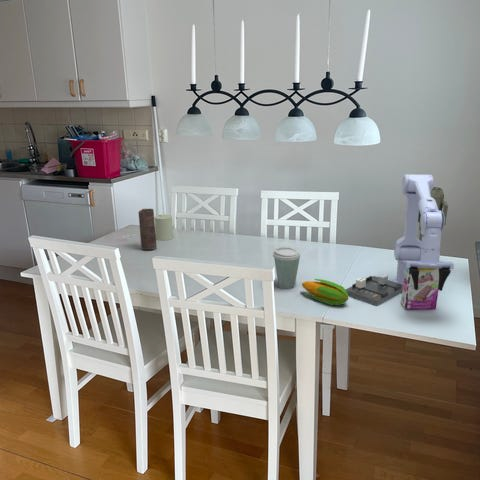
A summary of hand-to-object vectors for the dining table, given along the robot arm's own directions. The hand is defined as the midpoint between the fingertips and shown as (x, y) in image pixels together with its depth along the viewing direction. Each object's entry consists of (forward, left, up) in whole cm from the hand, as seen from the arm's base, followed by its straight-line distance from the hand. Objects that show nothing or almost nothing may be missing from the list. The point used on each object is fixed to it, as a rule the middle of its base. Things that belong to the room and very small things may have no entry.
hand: (427, 289), depth 159 cm
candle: (+25, -129, -11) cm, 132 cm away
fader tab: (-3, -27, -8) cm, 29 cm away
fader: (-12, -23, -8) cm, 28 cm away
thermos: (-43, -21, -11) cm, 49 cm away
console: (-7, -23, -11) cm, 27 cm away
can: (+9, -139, -11) cm, 140 cm away
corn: (+12, -33, -11) cm, 37 cm away
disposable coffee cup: (+12, -51, -11) cm, 54 cm away
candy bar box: (-7, -6, -11) cm, 14 cm away
